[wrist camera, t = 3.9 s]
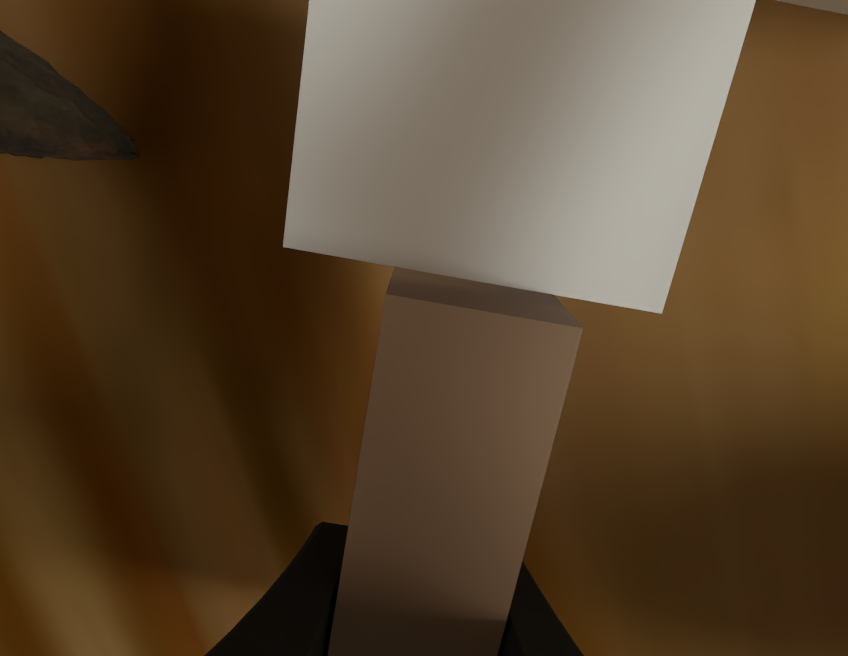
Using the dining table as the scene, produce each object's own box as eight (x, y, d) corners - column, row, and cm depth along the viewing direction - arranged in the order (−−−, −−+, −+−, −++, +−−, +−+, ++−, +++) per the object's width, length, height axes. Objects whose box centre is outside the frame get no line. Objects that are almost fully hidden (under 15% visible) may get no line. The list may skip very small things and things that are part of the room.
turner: (699, -1, 10) (871, -107, 6) (491, 751, 14) (513, 965, 11) (346, -71, 10) (288, -225, 6) (252, 715, 14) (185, 920, 10)
